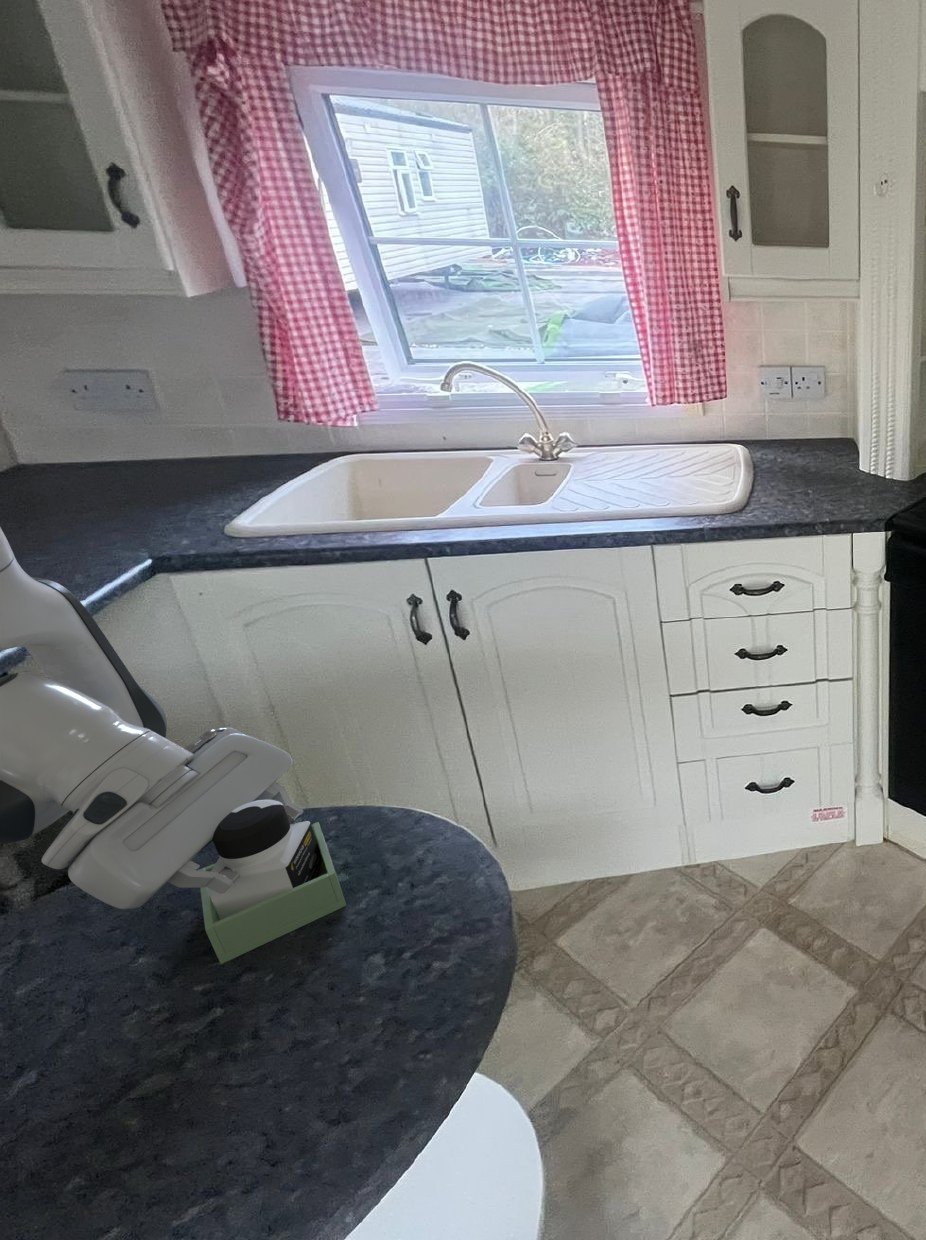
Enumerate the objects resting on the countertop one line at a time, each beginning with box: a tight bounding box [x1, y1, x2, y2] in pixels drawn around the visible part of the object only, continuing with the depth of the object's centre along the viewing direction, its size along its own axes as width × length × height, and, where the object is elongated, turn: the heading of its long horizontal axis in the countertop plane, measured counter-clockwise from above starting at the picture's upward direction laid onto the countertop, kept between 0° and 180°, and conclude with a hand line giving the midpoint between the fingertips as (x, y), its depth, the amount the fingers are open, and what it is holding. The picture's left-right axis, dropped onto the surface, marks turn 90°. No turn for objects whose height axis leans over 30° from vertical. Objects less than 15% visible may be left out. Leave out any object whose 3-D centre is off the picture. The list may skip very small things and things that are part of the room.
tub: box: [197, 821, 347, 965], centre depth 87 cm, size 11×11×5 cm
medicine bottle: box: [206, 800, 325, 920], centre depth 86 cm, size 7×7×12 cm
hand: (266, 850), depth 86 cm, fingers closed on medicine bottle, 8 cm apart
